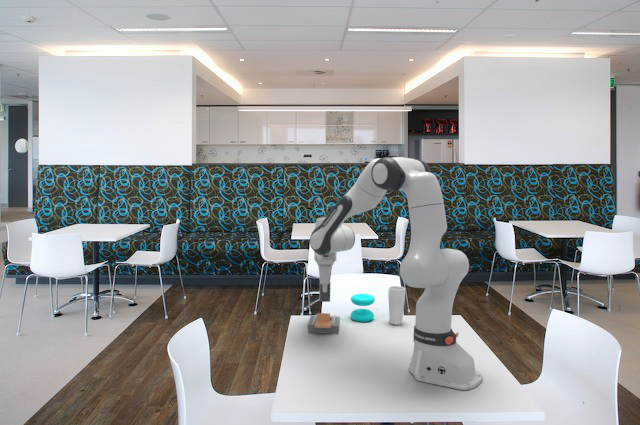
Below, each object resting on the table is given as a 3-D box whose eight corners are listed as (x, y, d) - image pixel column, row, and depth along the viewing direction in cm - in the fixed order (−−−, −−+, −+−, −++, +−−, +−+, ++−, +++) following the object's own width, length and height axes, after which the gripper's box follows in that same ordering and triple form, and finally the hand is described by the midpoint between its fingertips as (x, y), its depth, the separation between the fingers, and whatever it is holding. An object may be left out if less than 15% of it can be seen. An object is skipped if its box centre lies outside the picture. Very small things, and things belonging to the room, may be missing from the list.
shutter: (331, 322, 196) (331, 313, 196) (330, 328, 190) (330, 318, 190) (315, 322, 197) (316, 312, 197) (314, 327, 191) (314, 317, 190)
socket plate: (339, 323, 205) (339, 315, 205) (338, 333, 193) (338, 324, 193) (310, 322, 206) (310, 314, 206) (307, 332, 194) (307, 323, 194)
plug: (329, 298, 202) (329, 278, 201) (330, 301, 198) (330, 280, 197) (319, 299, 202) (319, 278, 201) (320, 301, 198) (320, 280, 197)
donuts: (379, 295, 212) (365, 300, 204) (378, 318, 213) (365, 324, 205) (360, 291, 218) (346, 296, 211) (359, 314, 219) (345, 319, 212)
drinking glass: (405, 322, 208) (407, 287, 207) (401, 326, 202) (402, 290, 201) (390, 319, 211) (391, 285, 210) (385, 324, 205) (386, 288, 204)
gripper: (317, 251, 209) (317, 283, 210) (317, 260, 188) (316, 296, 190) (332, 251, 209) (332, 284, 210) (333, 261, 188) (333, 297, 190)
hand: (324, 290), depth 200 cm, fingers closed on plug, 4 cm apart
